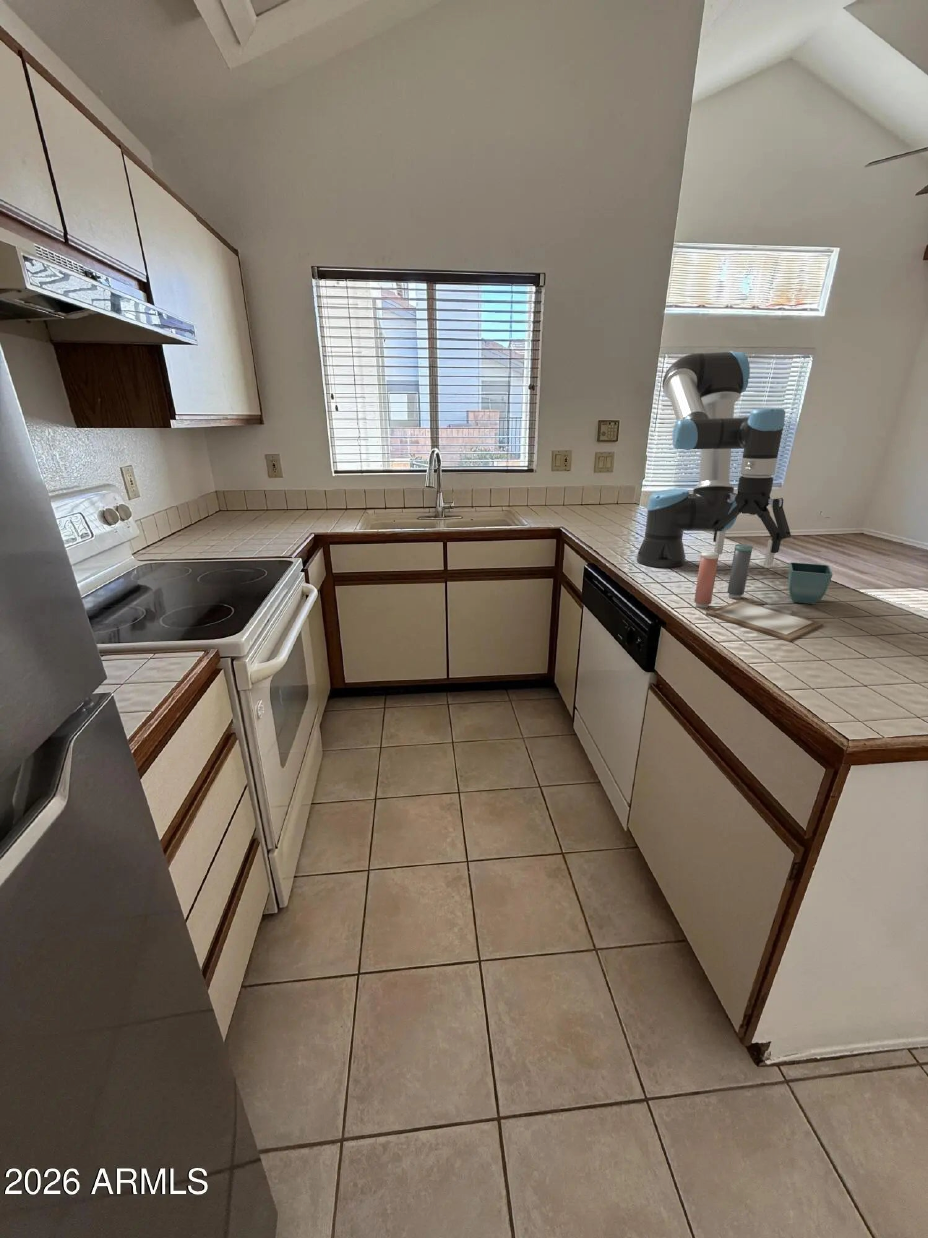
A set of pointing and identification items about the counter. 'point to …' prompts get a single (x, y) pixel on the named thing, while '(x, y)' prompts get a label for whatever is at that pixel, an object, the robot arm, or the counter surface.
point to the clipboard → (765, 619)
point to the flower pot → (808, 582)
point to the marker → (739, 570)
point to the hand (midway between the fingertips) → (742, 559)
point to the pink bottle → (706, 579)
